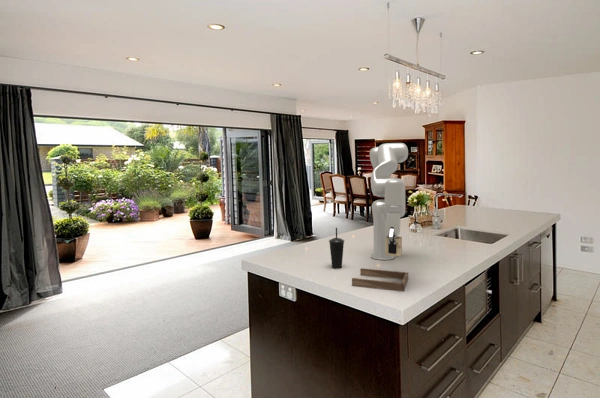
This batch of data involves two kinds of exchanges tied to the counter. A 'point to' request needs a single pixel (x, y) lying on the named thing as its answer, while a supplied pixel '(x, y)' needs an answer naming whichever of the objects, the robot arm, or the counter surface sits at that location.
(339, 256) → the drinking cup
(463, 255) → the counter surface
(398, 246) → the light wooden block
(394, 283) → the bay
